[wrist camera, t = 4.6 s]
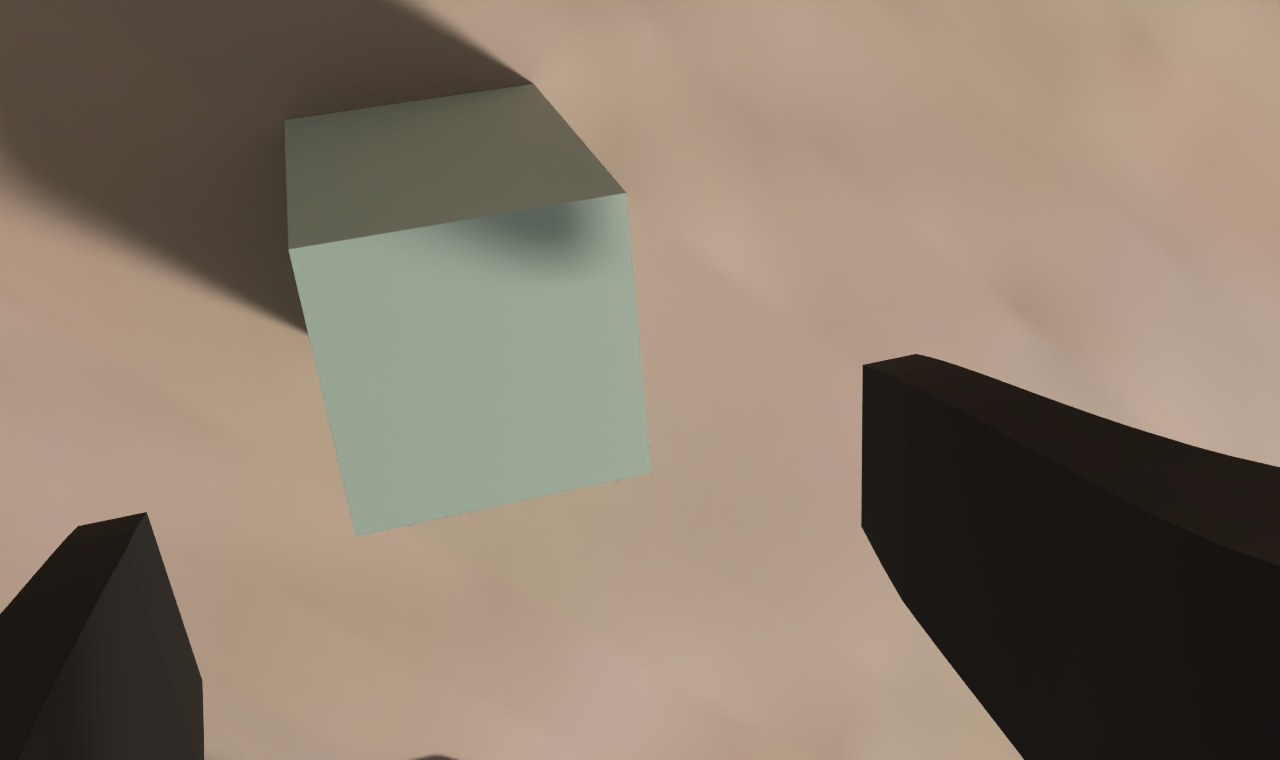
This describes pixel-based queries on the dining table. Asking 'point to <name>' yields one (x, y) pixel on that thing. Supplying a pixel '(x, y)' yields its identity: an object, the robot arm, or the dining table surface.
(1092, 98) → the dining table surface
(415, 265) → the sage block
